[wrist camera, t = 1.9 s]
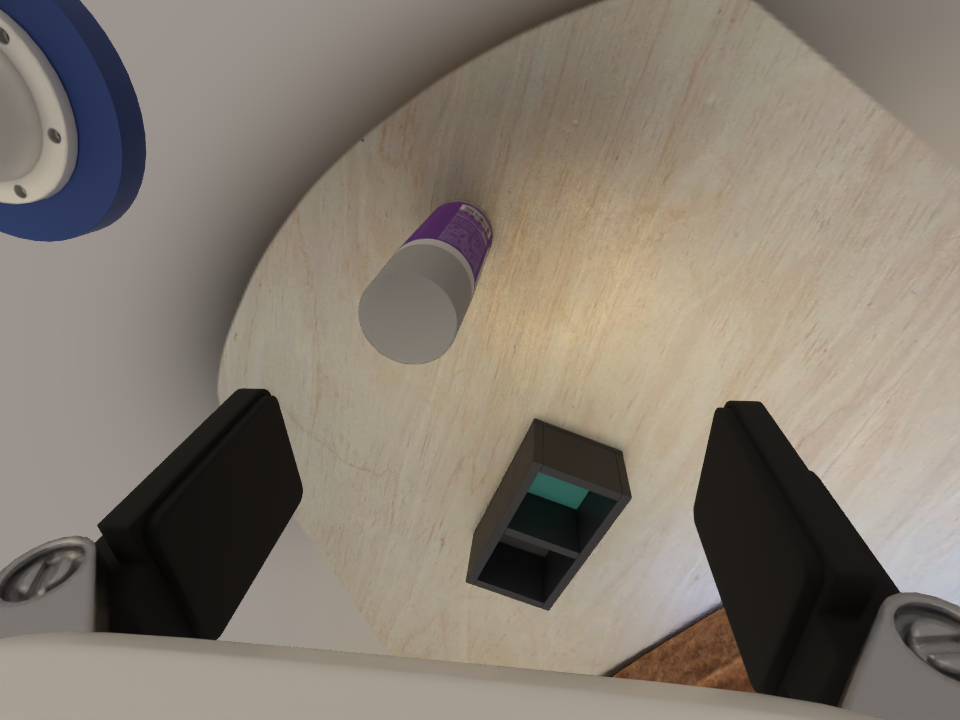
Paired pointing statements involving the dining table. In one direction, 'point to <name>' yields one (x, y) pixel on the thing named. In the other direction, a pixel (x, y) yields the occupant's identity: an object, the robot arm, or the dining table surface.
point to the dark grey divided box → (547, 515)
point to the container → (427, 285)
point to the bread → (696, 658)
